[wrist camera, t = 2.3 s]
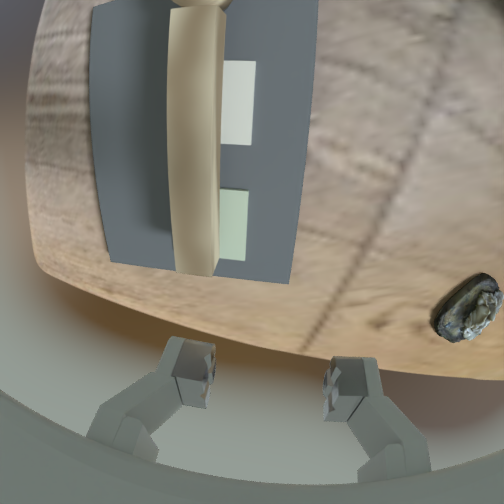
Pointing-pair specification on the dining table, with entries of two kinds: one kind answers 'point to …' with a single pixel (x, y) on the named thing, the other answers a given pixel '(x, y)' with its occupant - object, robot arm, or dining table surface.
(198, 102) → the swing arm
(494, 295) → the grey rough oval rock
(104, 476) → the robot arm
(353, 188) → the dining table surface
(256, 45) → the label board
